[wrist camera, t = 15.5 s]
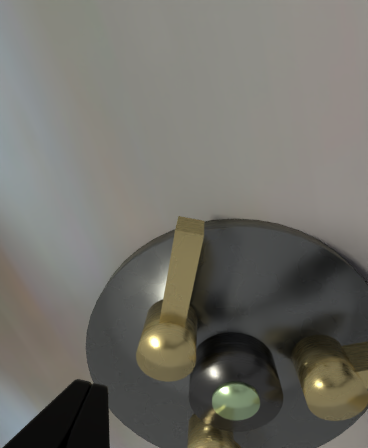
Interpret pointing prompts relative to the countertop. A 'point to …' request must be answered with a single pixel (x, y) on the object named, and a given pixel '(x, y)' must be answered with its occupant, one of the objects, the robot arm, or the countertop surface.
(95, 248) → the countertop surface
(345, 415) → the knob
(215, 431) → the knob
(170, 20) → the countertop surface
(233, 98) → the countertop surface
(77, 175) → the countertop surface
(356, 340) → the tribrach plate
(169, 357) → the knob
